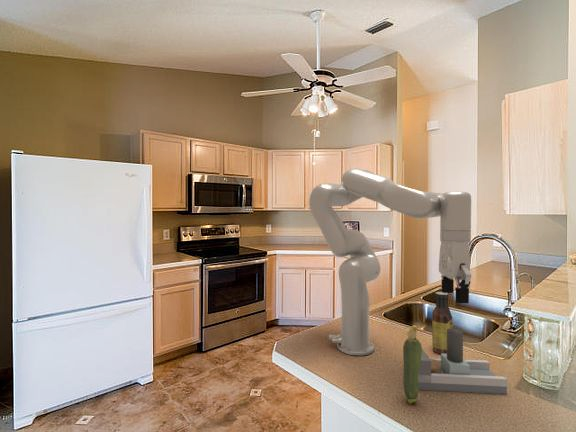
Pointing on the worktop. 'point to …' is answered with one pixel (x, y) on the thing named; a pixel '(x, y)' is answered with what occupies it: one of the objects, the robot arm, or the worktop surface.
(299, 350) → the worktop surface
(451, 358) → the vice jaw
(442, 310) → the sauce bottle
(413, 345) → the vegetable
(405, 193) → the robot arm
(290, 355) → the worktop surface
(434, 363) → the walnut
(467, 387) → the vice bench
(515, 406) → the worktop surface
